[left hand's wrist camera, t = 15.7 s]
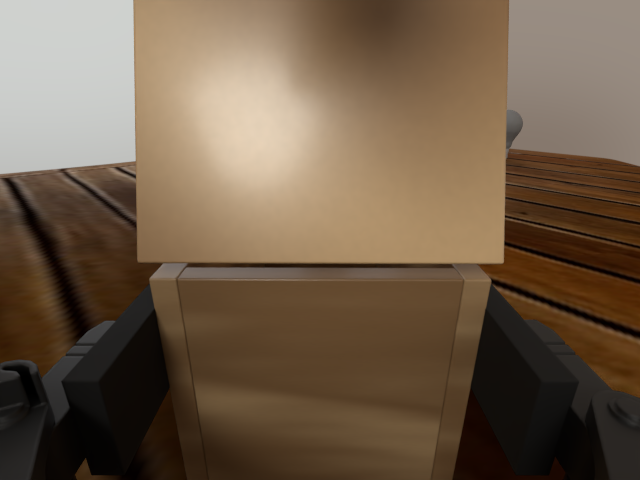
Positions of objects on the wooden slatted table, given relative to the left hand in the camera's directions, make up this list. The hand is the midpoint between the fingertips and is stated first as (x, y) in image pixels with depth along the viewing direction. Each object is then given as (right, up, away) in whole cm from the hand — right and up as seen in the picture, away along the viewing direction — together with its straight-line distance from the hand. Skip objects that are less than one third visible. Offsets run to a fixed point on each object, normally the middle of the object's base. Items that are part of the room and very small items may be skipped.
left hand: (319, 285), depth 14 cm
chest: (0, -5, +6) cm, 7 cm away
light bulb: (+38, +19, +65) cm, 78 cm away
